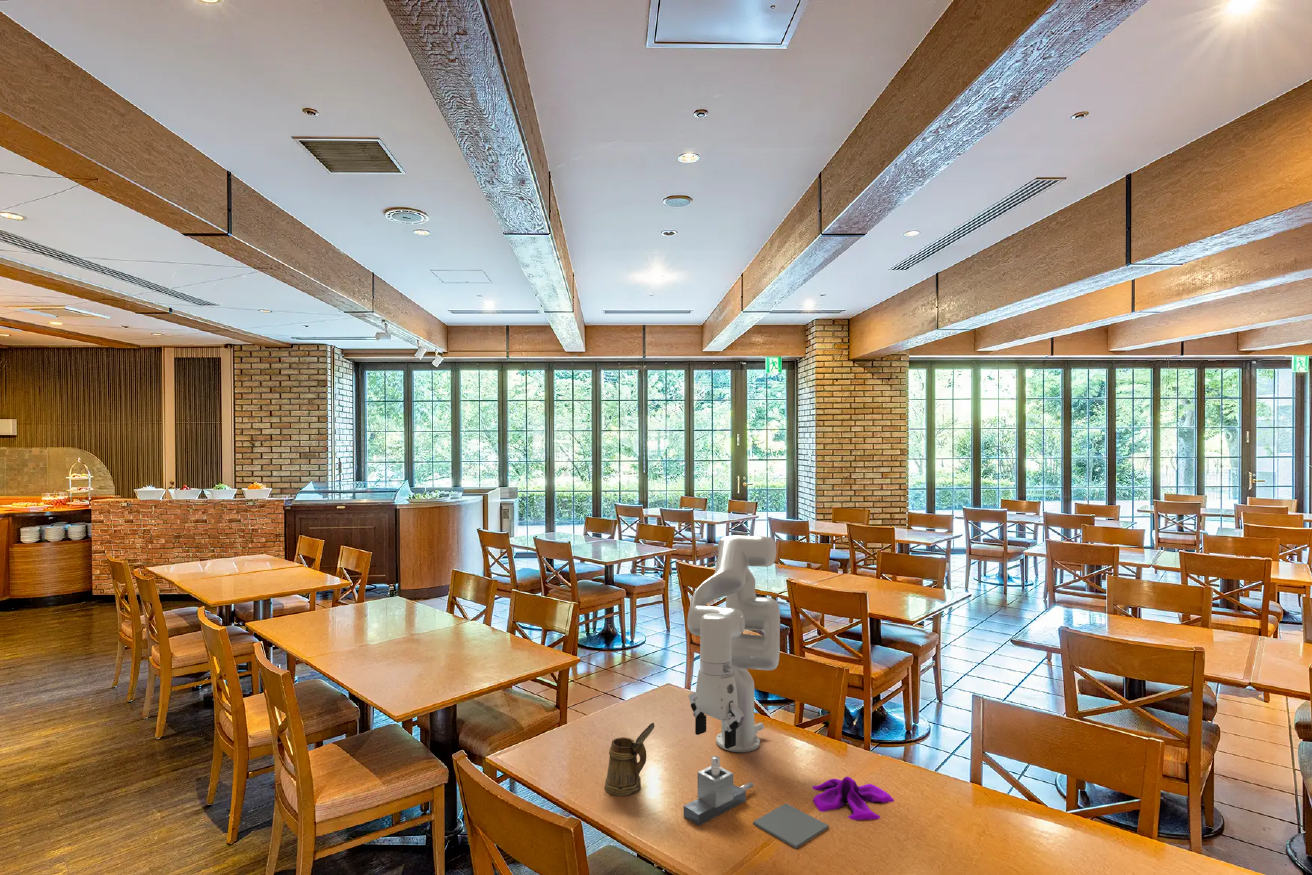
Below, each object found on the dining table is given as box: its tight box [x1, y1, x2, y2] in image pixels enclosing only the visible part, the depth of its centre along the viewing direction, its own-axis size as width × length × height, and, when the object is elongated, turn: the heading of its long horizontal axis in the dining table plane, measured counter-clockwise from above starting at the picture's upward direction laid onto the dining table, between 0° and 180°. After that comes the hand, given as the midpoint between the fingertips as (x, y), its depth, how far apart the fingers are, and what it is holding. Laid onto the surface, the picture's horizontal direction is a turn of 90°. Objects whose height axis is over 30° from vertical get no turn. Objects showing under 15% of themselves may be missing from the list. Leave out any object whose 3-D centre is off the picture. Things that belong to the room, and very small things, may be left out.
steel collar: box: [697, 765, 734, 808], centre depth 154 cm, size 6×6×6 cm
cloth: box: [811, 776, 895, 821], centre depth 159 cm, size 22×19×6 cm
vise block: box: [683, 755, 754, 827], centre depth 156 cm, size 21×5×12 cm, turn 131°
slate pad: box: [752, 803, 830, 850], centre depth 147 cm, size 12×12×1 cm
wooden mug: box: [604, 722, 656, 797], centre depth 163 cm, size 9×14×18 cm, turn 59°
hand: (715, 739), depth 154 cm, fingers open, 9 cm apart
